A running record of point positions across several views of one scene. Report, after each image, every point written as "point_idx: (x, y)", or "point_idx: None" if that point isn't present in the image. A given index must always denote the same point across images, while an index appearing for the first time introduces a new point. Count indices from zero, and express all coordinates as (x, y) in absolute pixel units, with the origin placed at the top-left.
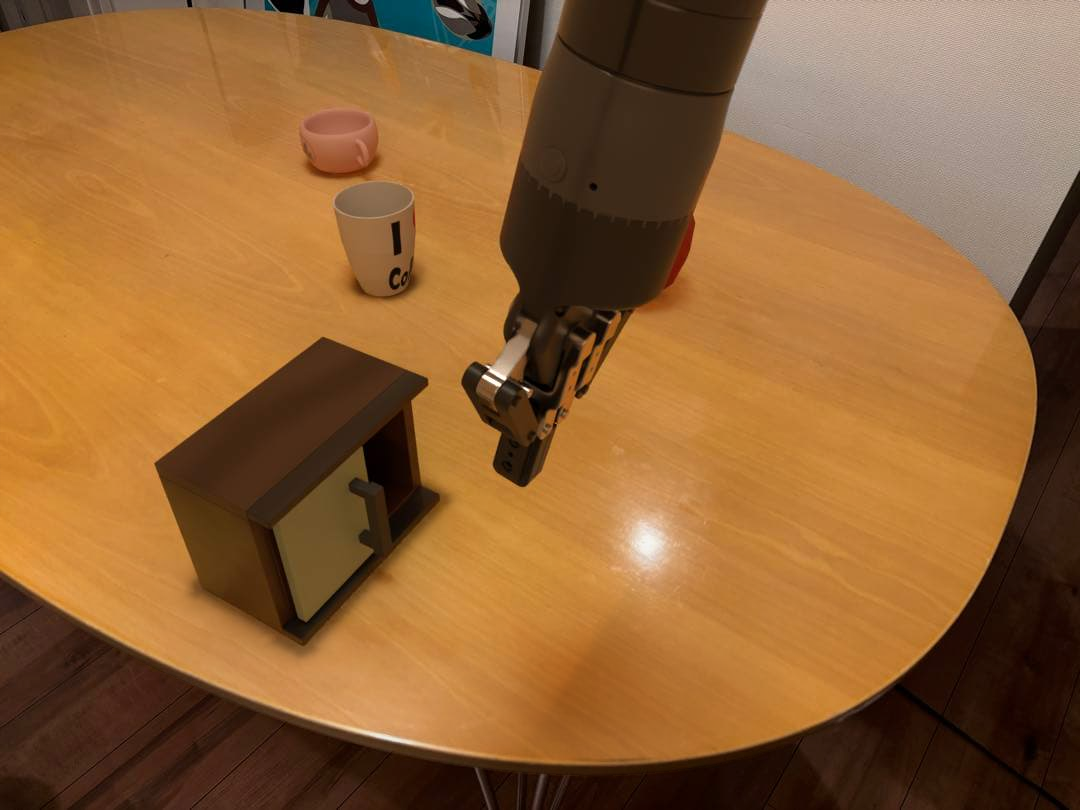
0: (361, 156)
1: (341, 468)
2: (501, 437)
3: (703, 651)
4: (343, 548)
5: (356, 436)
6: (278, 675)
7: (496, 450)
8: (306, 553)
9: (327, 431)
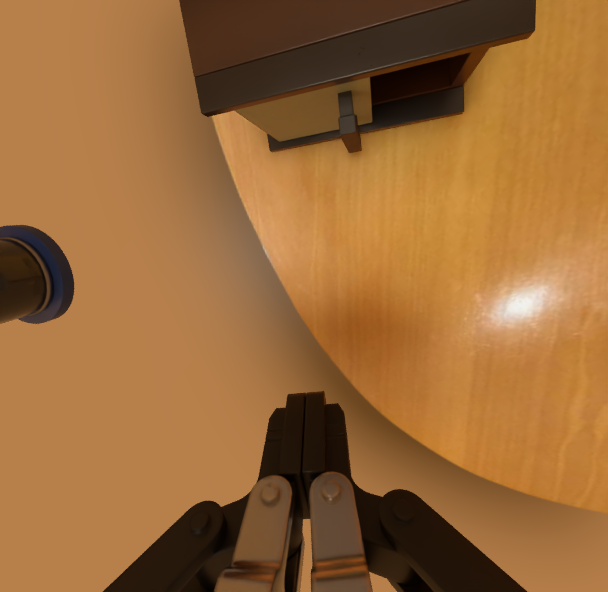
0: None
1: None
2: (282, 436)
3: (441, 382)
4: (324, 121)
5: (357, 65)
6: (246, 158)
7: (285, 414)
8: (274, 121)
9: (341, 21)
